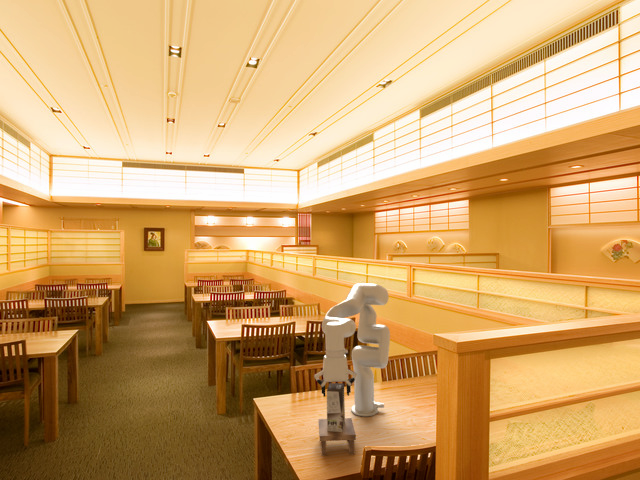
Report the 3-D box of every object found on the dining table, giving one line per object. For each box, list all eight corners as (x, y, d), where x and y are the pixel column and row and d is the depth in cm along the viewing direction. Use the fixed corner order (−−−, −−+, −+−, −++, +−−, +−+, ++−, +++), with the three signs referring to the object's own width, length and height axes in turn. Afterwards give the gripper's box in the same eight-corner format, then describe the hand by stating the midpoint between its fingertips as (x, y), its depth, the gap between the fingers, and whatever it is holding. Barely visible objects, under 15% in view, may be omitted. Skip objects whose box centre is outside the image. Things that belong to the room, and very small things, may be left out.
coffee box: (343, 432, 154) (342, 391, 154) (326, 431, 155) (326, 390, 155) (345, 421, 163) (344, 383, 163) (330, 420, 164) (329, 382, 164)
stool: (351, 436, 166) (351, 418, 166) (356, 455, 152) (355, 434, 152) (318, 438, 166) (318, 419, 165) (320, 456, 152) (319, 436, 151)
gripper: (355, 349, 163) (356, 390, 163) (313, 350, 162) (314, 391, 162) (357, 355, 155) (358, 397, 156) (313, 356, 154) (315, 399, 155)
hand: (336, 394), depth 159 cm, fingers open, 9 cm apart
